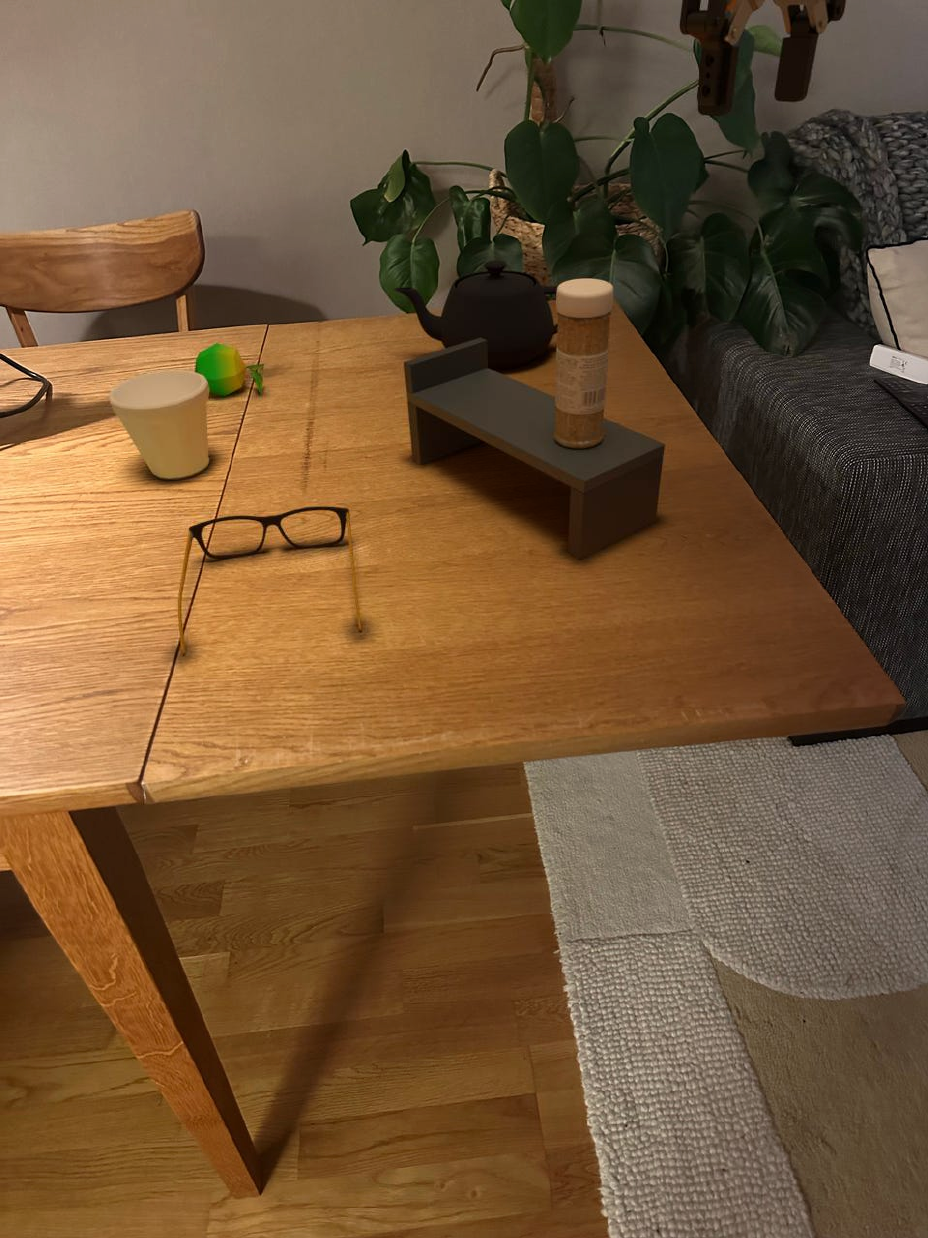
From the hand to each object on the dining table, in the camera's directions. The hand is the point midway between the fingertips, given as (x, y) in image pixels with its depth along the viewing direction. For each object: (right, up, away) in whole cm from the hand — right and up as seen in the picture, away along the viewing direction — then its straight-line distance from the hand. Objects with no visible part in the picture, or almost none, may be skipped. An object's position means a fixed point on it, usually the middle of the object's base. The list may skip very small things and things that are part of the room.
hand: (753, 107), depth 55 cm
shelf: (-14, -21, +28) cm, 38 cm away
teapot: (-16, +1, +57) cm, 59 cm away
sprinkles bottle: (-9, -19, +18) cm, 28 cm away
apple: (-50, -5, +51) cm, 71 cm away
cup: (-51, -19, +34) cm, 64 cm away
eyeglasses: (-36, -33, +15) cm, 51 cm away
